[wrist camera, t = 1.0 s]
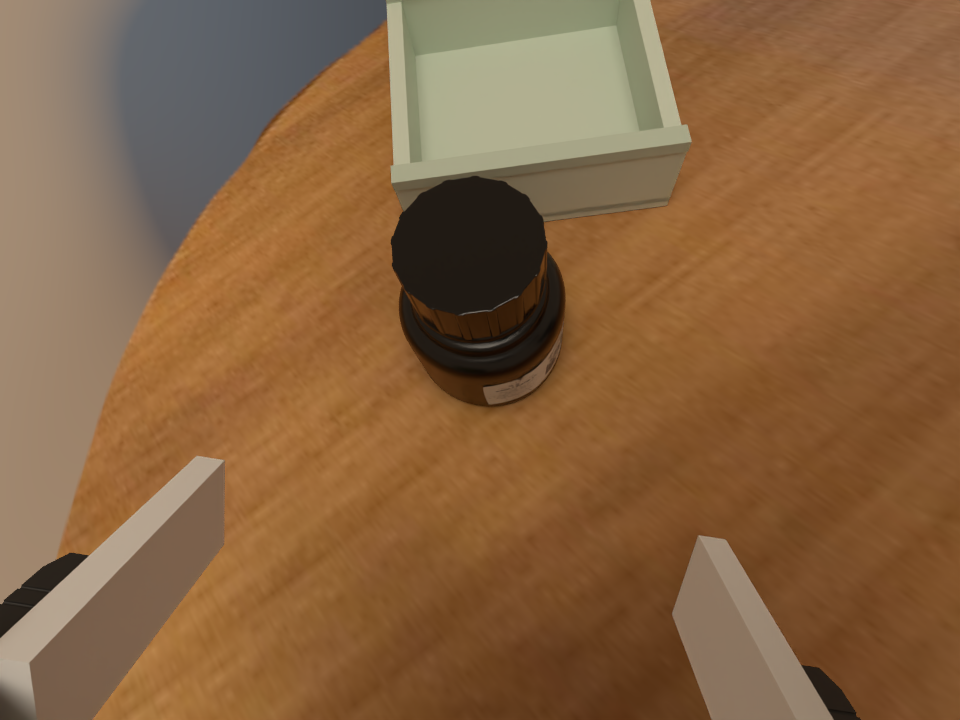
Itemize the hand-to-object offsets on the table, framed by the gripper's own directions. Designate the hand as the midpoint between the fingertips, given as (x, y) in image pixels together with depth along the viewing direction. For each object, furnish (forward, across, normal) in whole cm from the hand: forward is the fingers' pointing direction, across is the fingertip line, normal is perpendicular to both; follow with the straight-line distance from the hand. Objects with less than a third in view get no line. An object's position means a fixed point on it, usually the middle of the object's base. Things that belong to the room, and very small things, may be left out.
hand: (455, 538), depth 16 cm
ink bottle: (+21, +1, 0) cm, 21 cm away
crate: (+31, +1, +13) cm, 33 cm away
